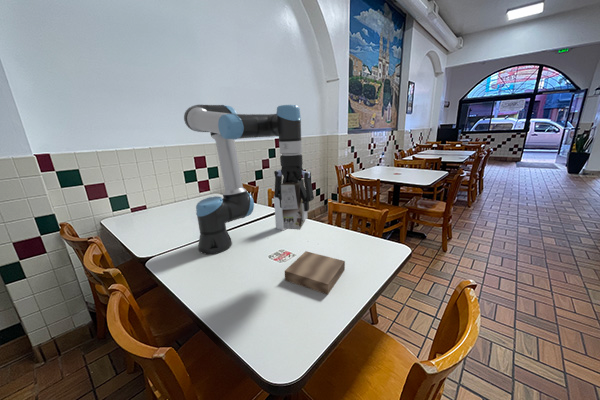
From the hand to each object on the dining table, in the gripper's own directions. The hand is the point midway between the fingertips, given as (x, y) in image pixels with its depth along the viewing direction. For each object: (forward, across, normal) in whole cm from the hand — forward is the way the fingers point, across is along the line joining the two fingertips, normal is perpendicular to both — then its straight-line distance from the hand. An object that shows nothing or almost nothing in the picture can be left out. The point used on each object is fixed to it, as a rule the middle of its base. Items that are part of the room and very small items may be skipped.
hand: (294, 217), depth 88 cm
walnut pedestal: (+22, +7, +1) cm, 23 cm away
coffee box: (+3, 0, 0) cm, 3 cm away
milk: (+21, -29, +32) cm, 49 cm away
